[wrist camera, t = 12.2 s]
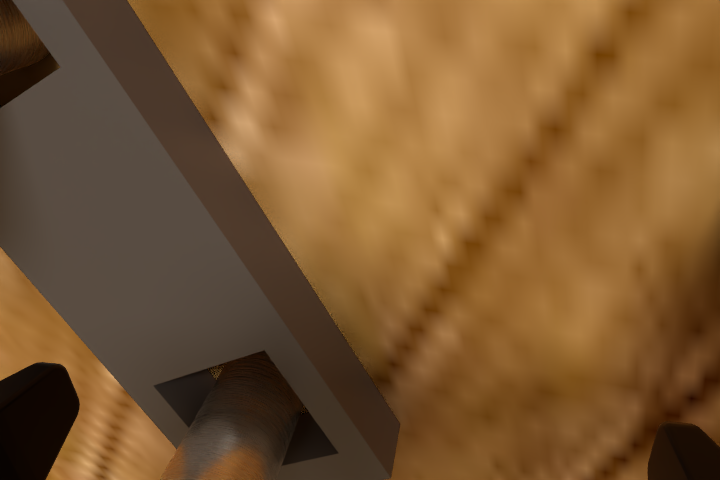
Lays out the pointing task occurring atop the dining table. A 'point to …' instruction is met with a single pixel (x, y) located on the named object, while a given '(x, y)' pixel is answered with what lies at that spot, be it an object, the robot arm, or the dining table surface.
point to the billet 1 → (17, 40)
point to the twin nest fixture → (167, 244)
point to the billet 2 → (240, 425)
